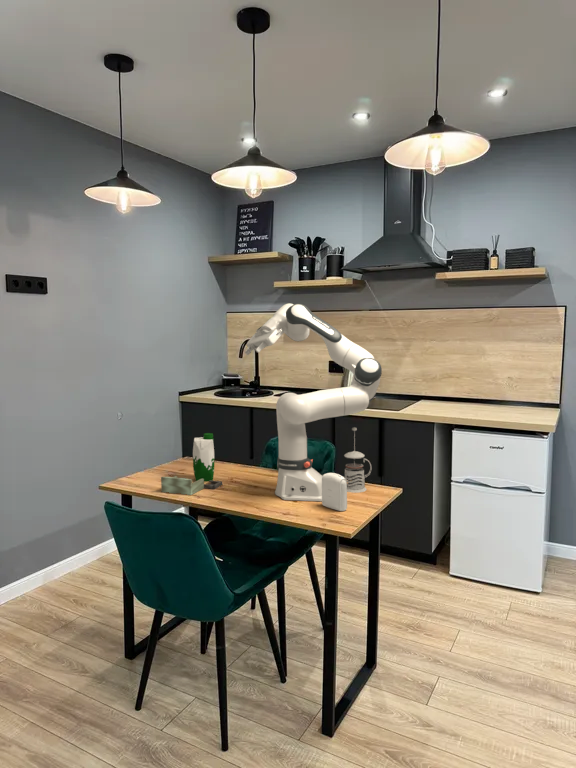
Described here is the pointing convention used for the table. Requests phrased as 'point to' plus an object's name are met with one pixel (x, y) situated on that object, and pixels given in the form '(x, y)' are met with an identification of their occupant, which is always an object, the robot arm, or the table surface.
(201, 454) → the soya milk
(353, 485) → the french press
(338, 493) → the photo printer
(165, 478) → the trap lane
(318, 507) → the table surface
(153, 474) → the table surface
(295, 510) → the table surface
